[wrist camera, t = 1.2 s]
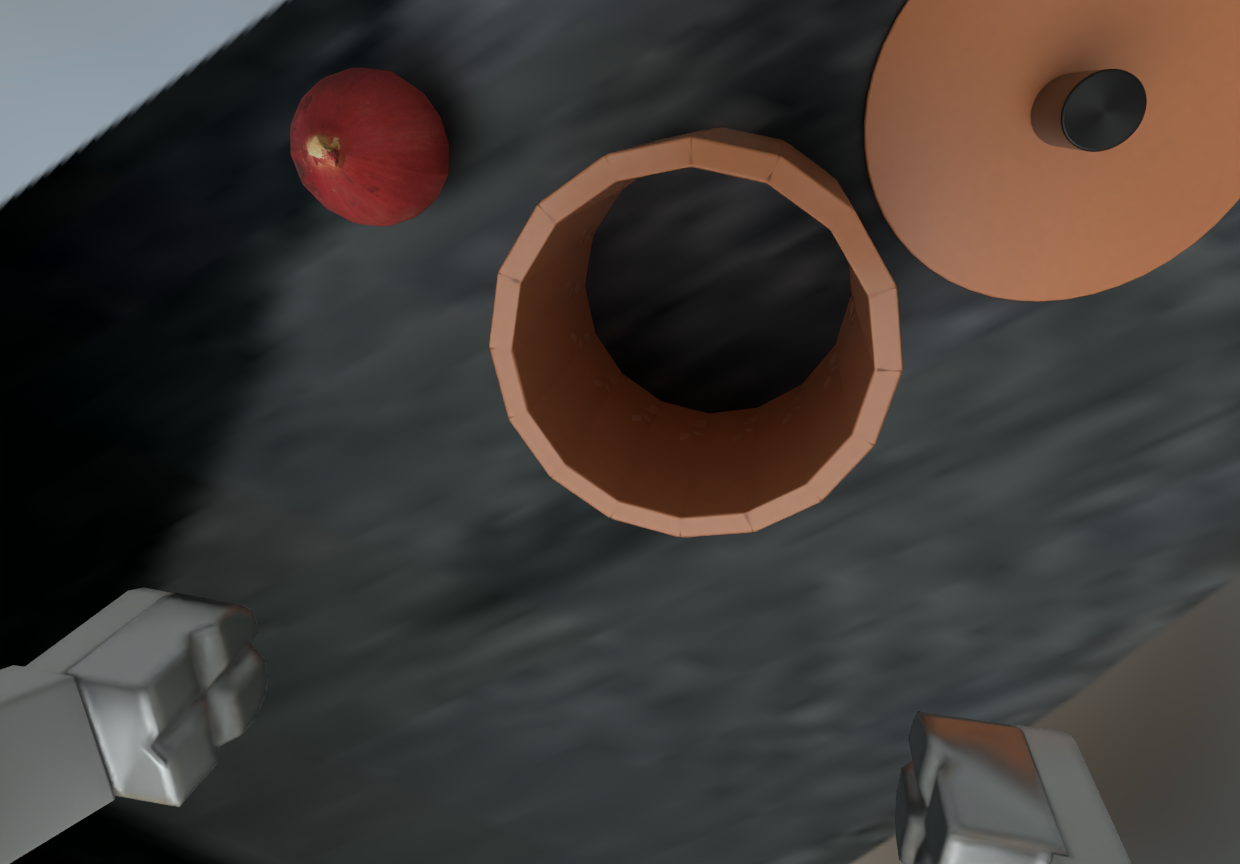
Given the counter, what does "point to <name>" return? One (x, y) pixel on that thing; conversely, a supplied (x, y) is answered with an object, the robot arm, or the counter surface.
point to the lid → (1054, 138)
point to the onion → (370, 146)
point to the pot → (666, 433)
